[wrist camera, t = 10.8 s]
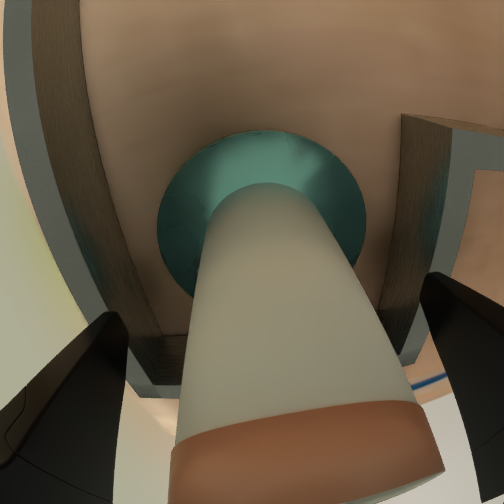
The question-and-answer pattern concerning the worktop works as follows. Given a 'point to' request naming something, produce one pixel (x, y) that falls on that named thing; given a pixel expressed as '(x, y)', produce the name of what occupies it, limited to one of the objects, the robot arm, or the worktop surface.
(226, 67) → the worktop surface
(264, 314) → the peg
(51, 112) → the channel
